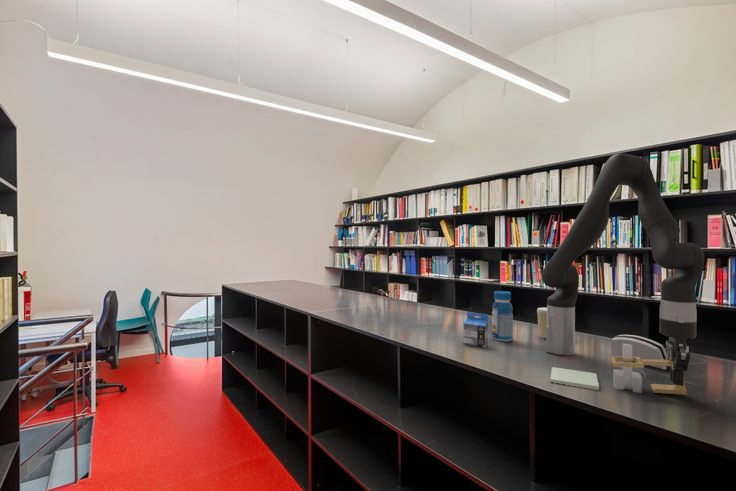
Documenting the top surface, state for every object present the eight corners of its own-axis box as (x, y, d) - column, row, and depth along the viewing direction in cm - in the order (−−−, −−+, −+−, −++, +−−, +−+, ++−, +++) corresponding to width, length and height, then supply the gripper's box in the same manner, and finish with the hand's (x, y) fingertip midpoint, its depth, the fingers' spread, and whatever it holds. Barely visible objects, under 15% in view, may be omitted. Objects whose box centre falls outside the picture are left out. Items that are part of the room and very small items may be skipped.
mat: (550, 382, 107) (550, 378, 107) (551, 370, 118) (551, 367, 118) (599, 390, 101) (599, 386, 101) (596, 376, 112) (596, 373, 112)
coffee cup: (565, 338, 158) (566, 310, 158) (547, 340, 155) (548, 311, 155) (549, 333, 167) (549, 306, 167) (532, 334, 164) (532, 307, 164)
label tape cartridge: (462, 343, 149) (463, 313, 149) (466, 341, 152) (466, 311, 152) (484, 347, 143) (485, 315, 143) (488, 345, 146) (488, 314, 146)
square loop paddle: (616, 392, 102) (612, 362, 102) (613, 383, 108) (610, 356, 108) (689, 396, 94) (684, 365, 95) (681, 387, 100) (677, 357, 101)
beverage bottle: (506, 343, 150) (507, 293, 150) (487, 339, 156) (488, 291, 156) (516, 339, 156) (516, 292, 156) (497, 335, 162) (498, 290, 162)
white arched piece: (673, 367, 121) (668, 339, 120) (666, 374, 119) (660, 346, 118) (620, 353, 136) (614, 329, 135) (612, 359, 134) (606, 334, 133)
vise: (615, 388, 102) (615, 345, 102) (611, 376, 112) (611, 336, 112) (641, 393, 100) (642, 348, 100) (635, 380, 109) (635, 339, 109)
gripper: (654, 312, 106) (653, 372, 106) (665, 321, 94) (664, 389, 94) (688, 315, 102) (687, 377, 102) (704, 324, 90) (703, 395, 90)
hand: (676, 382), depth 98 cm, fingers closed on square loop paddle
